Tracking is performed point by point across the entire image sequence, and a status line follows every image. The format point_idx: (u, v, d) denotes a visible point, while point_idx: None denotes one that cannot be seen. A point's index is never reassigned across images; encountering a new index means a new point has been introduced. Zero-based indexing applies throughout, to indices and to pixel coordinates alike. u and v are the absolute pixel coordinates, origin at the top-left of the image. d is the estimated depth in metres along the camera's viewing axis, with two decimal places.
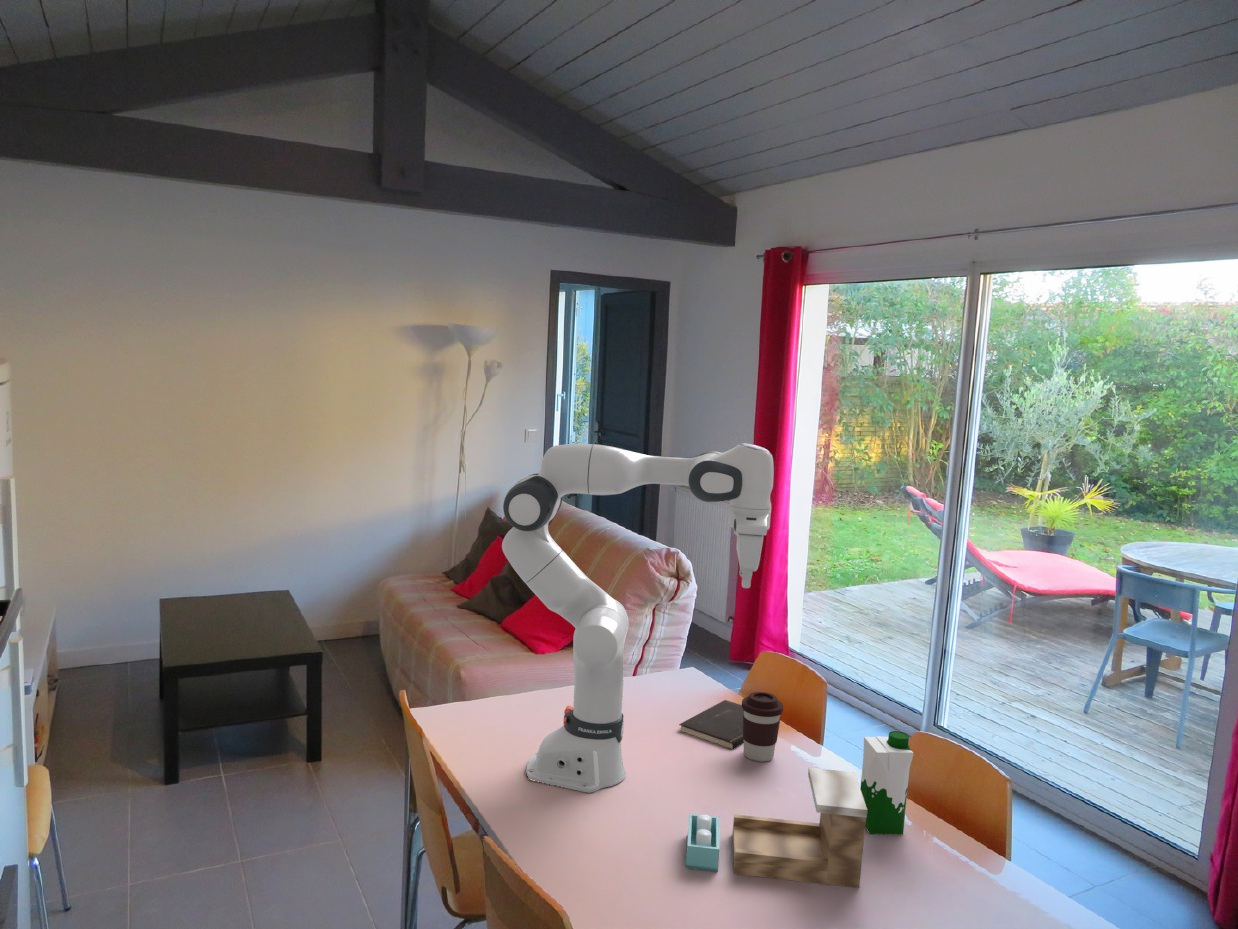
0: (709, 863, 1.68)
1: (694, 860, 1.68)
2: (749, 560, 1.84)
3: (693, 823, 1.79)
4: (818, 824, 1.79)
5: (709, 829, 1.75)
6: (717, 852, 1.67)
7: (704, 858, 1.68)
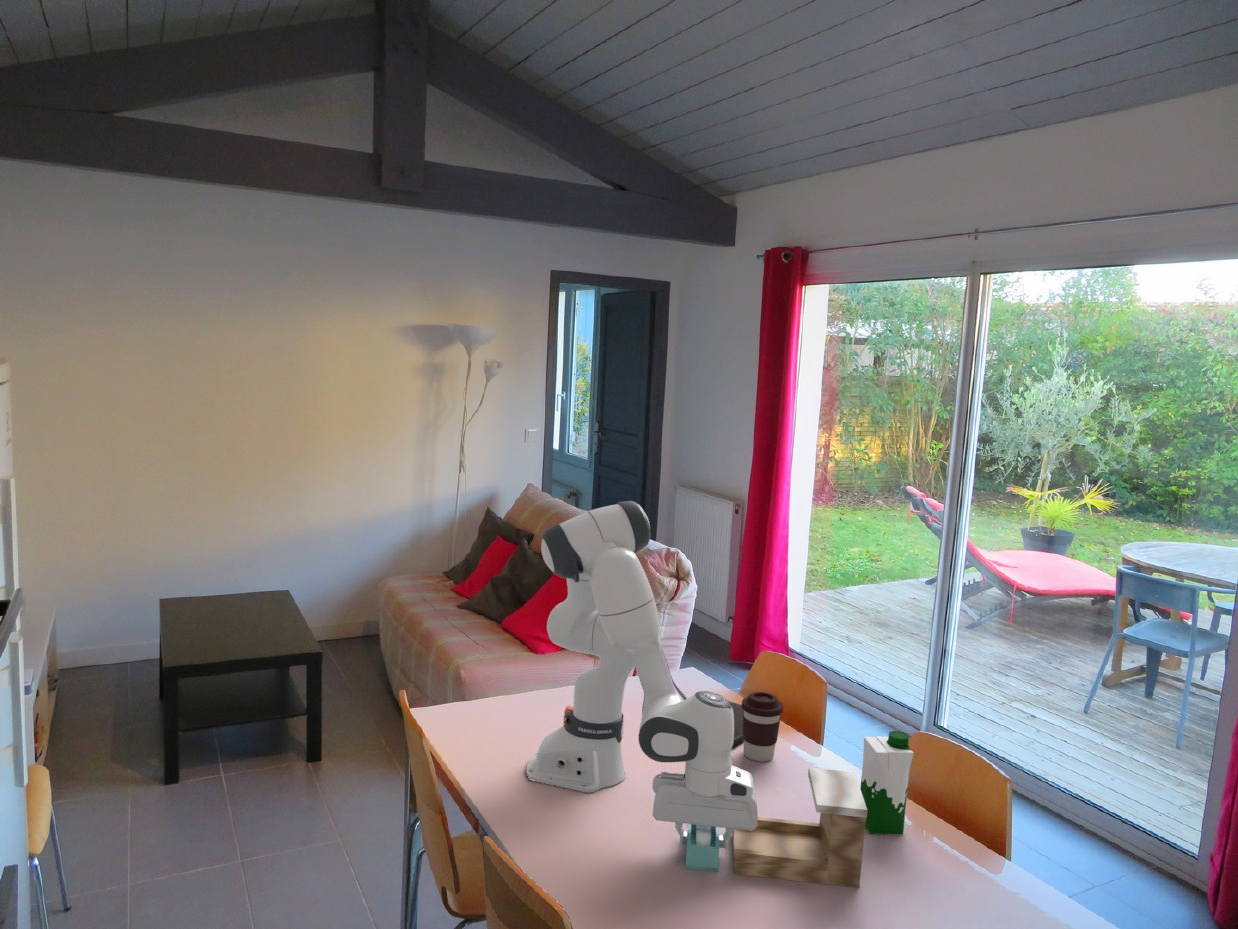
0: (709, 863, 1.68)
1: (694, 860, 1.68)
2: None
3: None
4: (818, 824, 1.79)
5: (709, 829, 1.75)
6: (717, 852, 1.67)
7: (704, 858, 1.68)
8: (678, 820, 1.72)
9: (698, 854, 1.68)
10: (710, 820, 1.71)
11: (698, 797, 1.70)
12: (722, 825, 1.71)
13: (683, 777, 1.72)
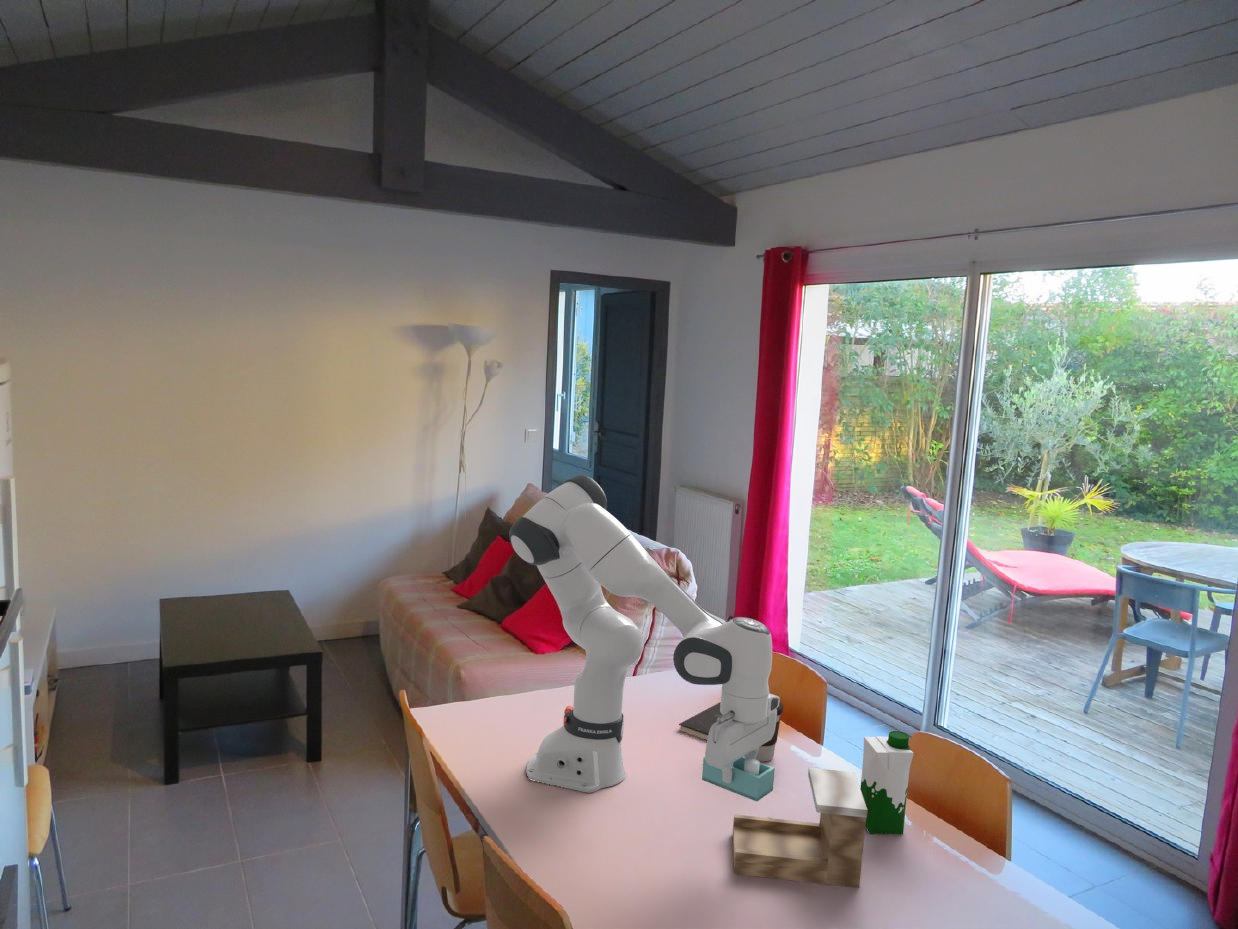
0: (769, 786, 1.67)
1: (761, 789, 1.65)
2: None
3: None
4: (818, 824, 1.79)
5: None
6: (773, 771, 1.68)
7: (766, 783, 1.66)
8: (735, 759, 1.64)
9: (764, 782, 1.65)
10: (752, 745, 1.69)
11: (751, 726, 1.66)
12: (757, 745, 1.71)
13: (733, 714, 1.64)
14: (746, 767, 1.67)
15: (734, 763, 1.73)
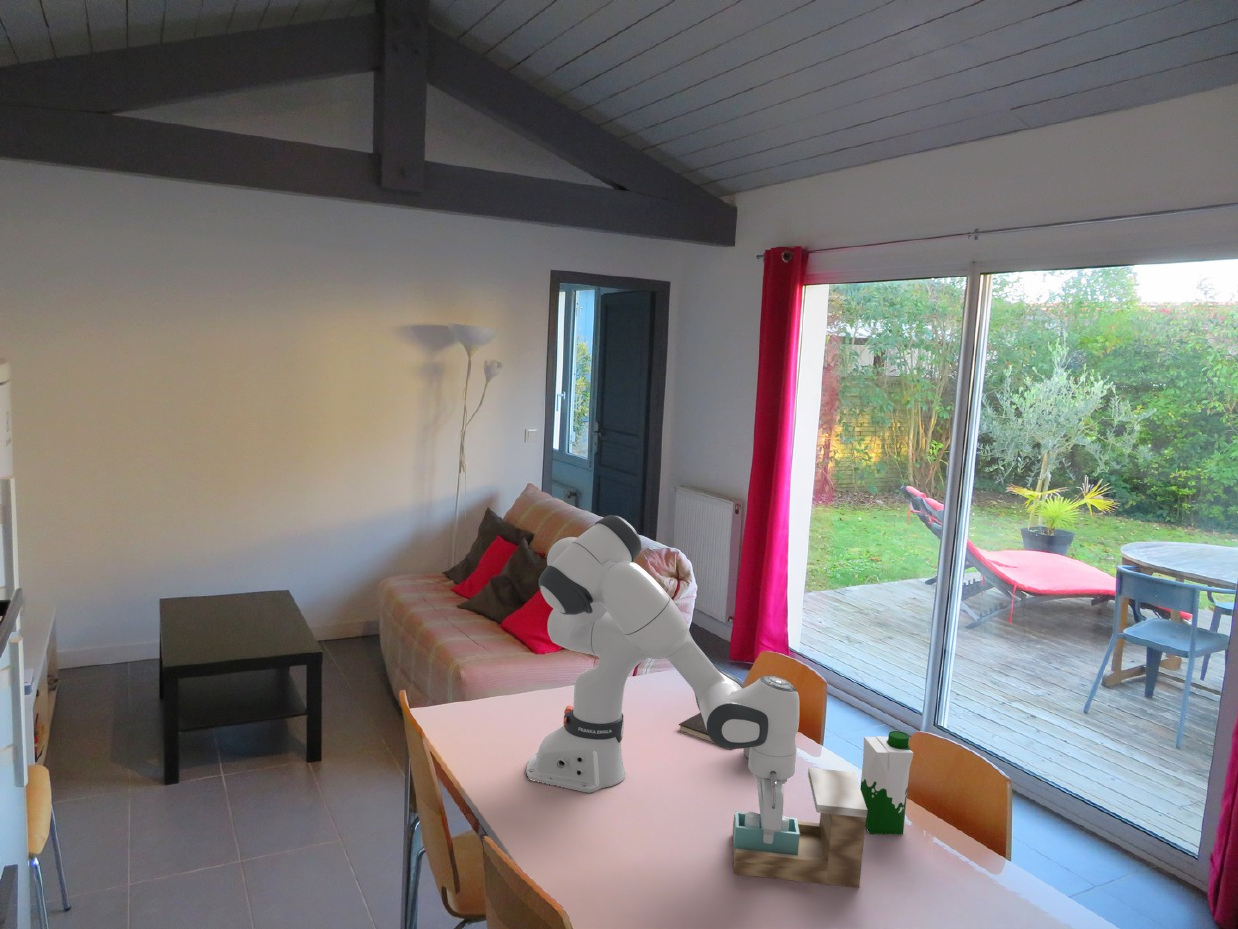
0: None
1: None
2: None
3: None
4: (818, 824, 1.79)
5: None
6: None
7: None
8: None
9: None
10: None
11: (785, 780, 1.70)
12: None
13: (776, 774, 1.67)
14: None
15: None
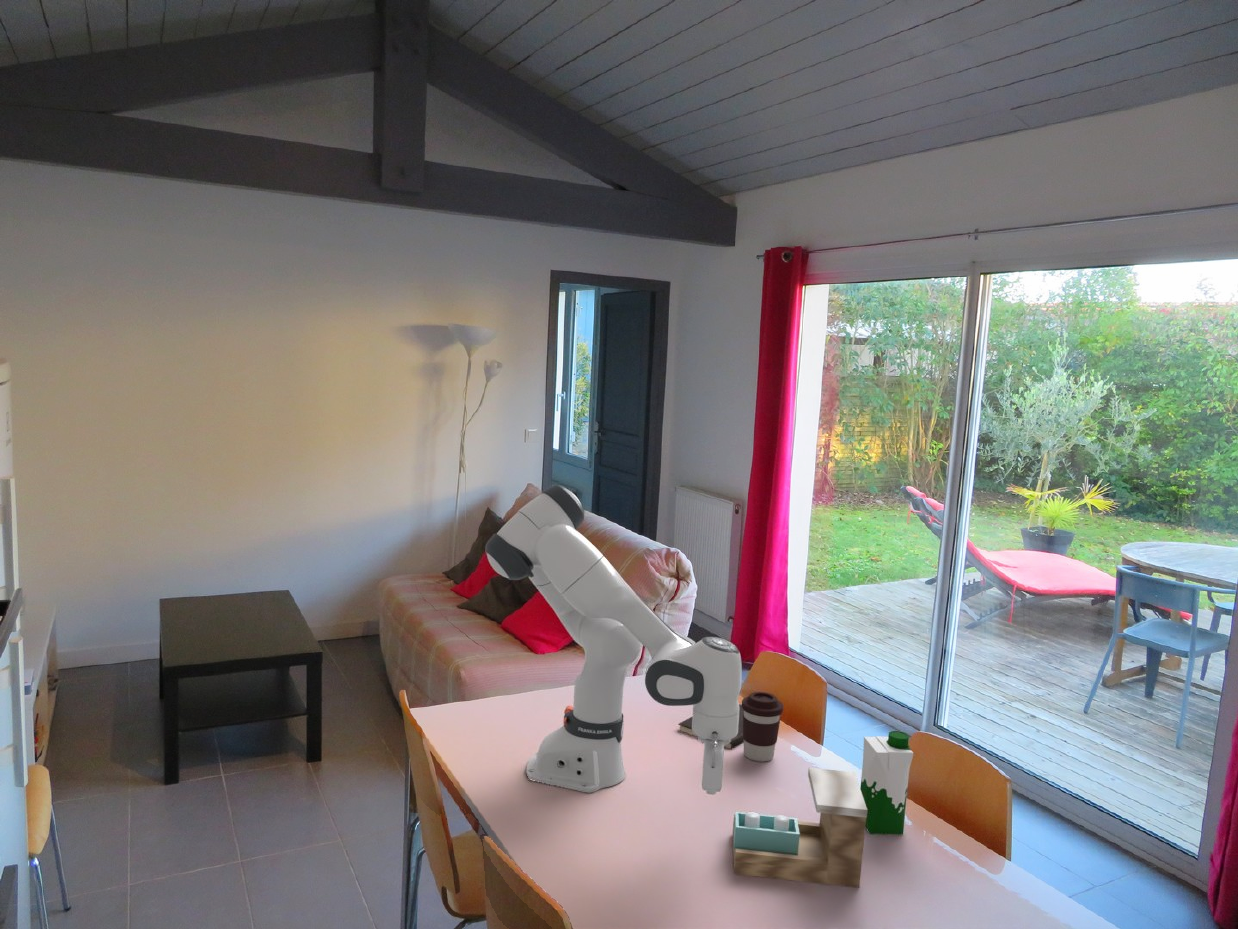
0: None
1: None
2: None
3: None
4: (818, 824, 1.79)
5: None
6: None
7: None
8: None
9: None
10: None
11: (728, 741, 1.70)
12: None
13: (717, 734, 1.67)
14: (780, 826, 1.71)
15: None
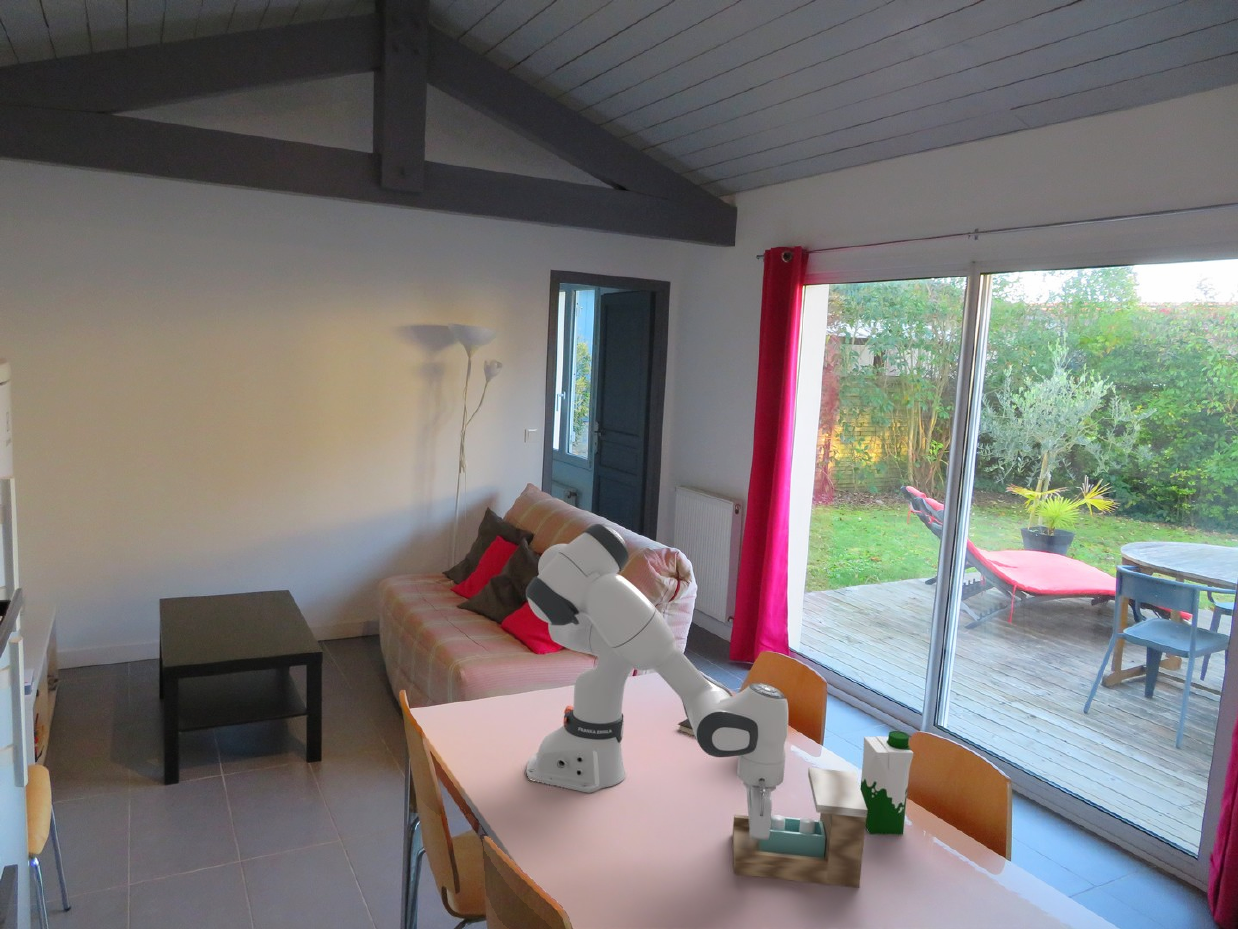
0: None
1: None
2: None
3: None
4: None
5: None
6: None
7: None
8: None
9: None
10: None
11: (774, 788, 1.70)
12: None
13: (764, 781, 1.67)
14: (805, 828, 1.71)
15: None
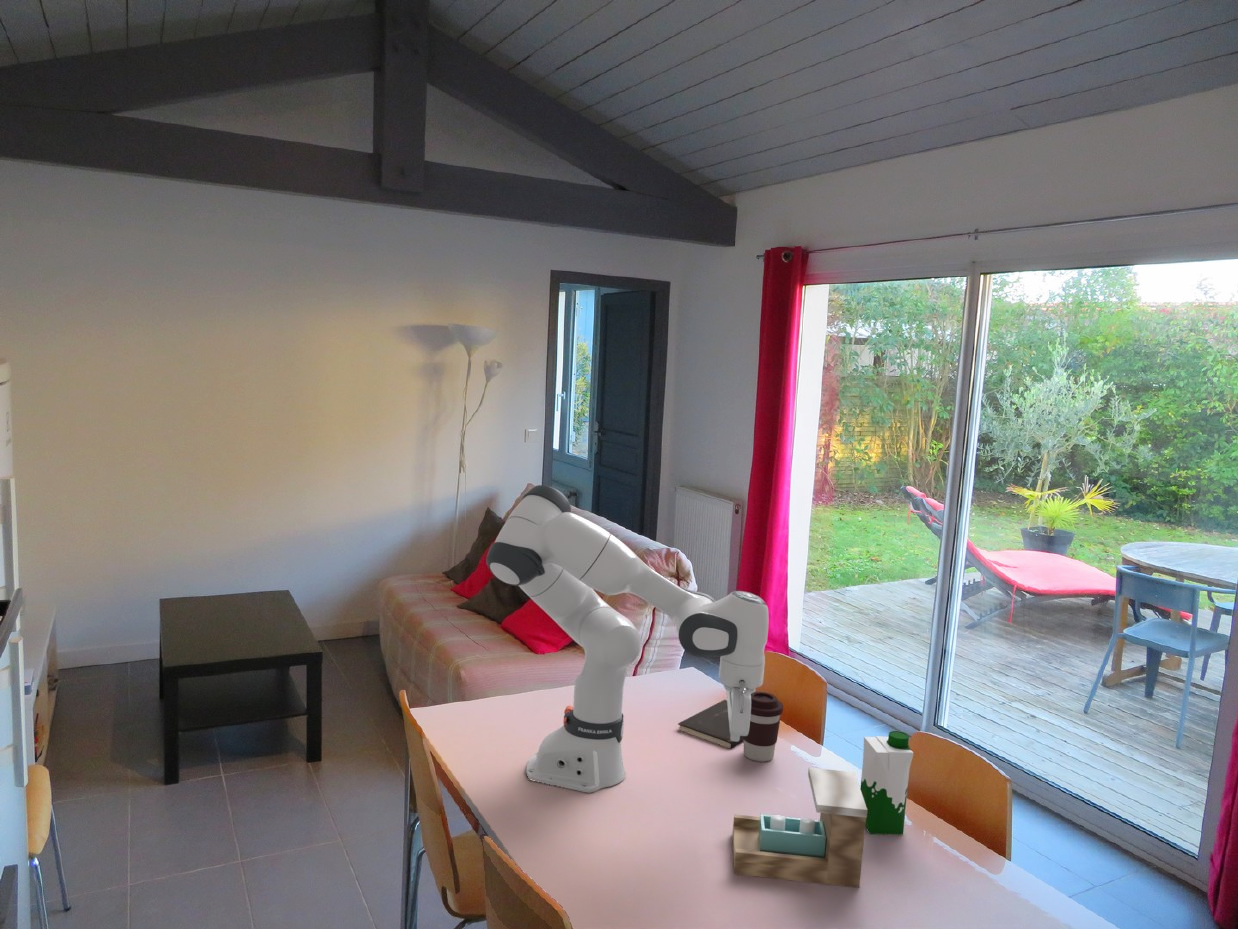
0: None
1: None
2: None
3: None
4: None
5: None
6: None
7: None
8: None
9: None
10: None
11: (754, 690, 1.78)
12: None
13: (744, 682, 1.75)
14: (805, 828, 1.71)
15: None
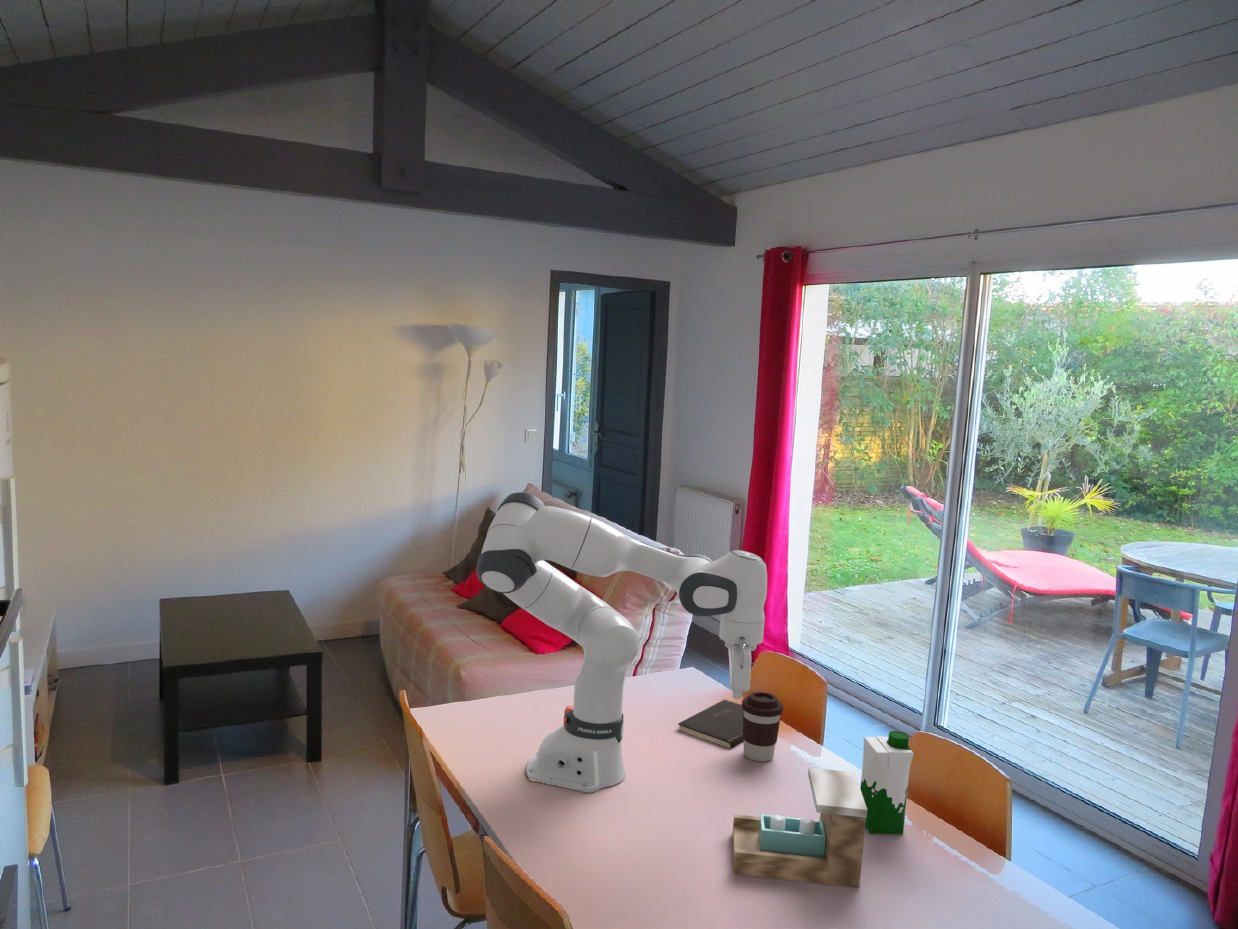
0: None
1: None
2: None
3: None
4: None
5: None
6: None
7: None
8: None
9: None
10: None
11: (754, 648, 1.80)
12: None
13: (744, 639, 1.77)
14: (805, 828, 1.71)
15: None
